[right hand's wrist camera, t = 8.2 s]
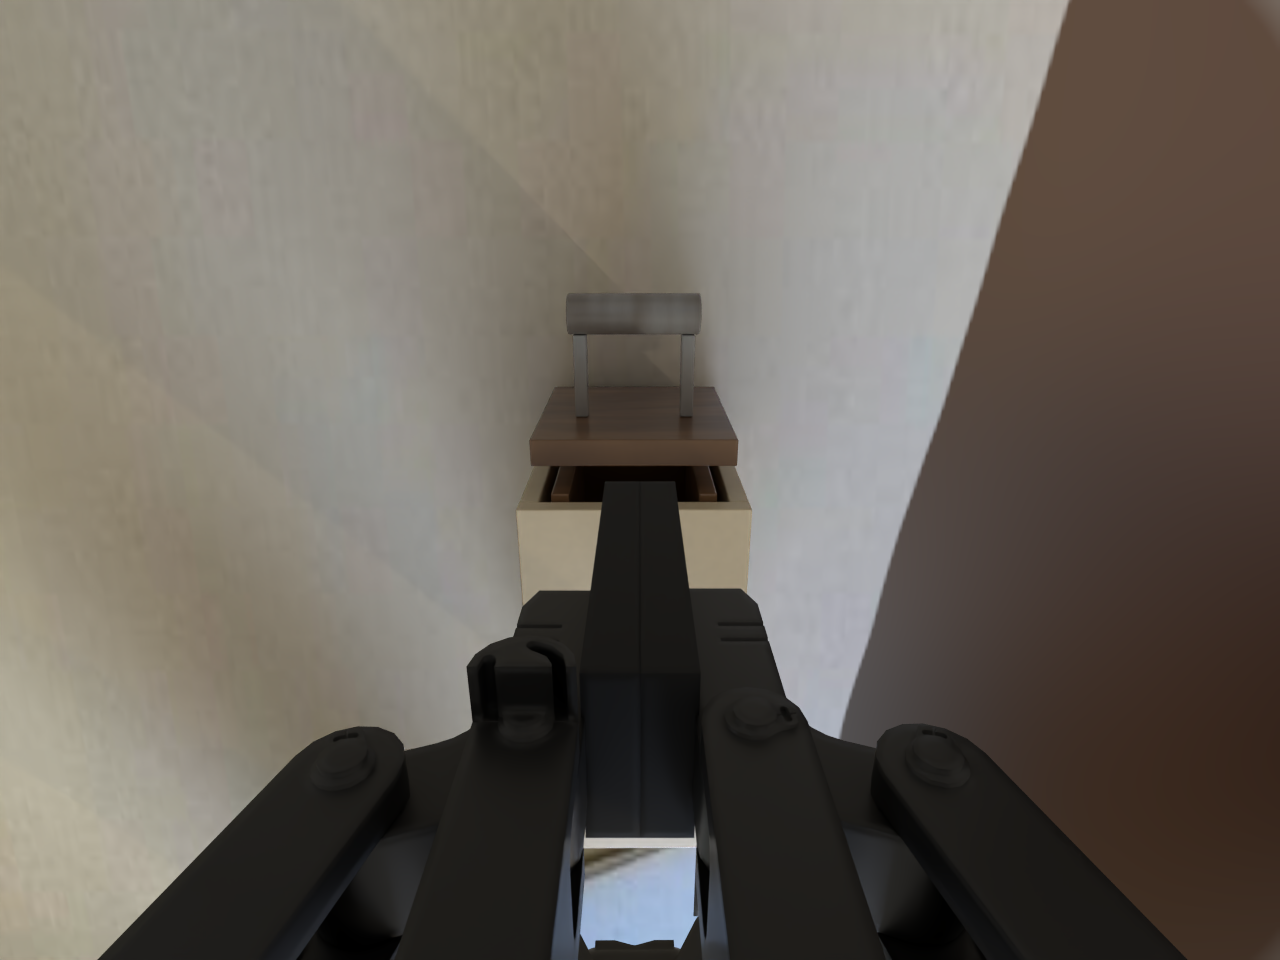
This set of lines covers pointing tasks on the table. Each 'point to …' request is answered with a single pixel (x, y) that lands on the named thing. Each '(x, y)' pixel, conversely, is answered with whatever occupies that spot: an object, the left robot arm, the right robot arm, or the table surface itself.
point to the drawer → (633, 409)
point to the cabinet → (566, 547)
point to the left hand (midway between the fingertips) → (635, 728)
